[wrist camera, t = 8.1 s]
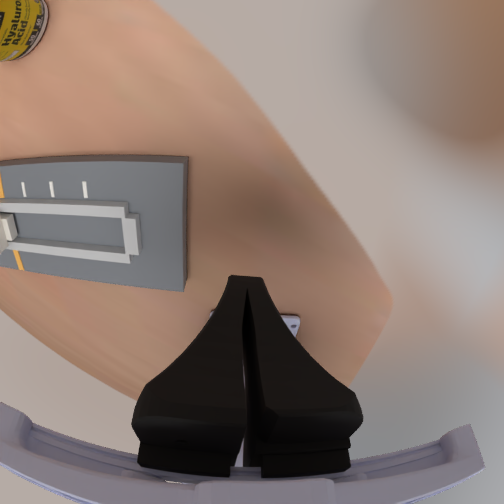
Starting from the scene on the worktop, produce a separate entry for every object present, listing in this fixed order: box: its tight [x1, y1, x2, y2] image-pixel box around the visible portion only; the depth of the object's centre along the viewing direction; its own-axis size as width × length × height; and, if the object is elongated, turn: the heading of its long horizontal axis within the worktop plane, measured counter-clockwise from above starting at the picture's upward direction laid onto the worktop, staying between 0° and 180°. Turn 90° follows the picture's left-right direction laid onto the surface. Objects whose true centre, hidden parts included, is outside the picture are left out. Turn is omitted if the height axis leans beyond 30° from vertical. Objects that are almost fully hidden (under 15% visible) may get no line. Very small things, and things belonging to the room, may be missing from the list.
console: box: [0, 155, 188, 292], centre depth 19 cm, size 10×22×2 cm, turn 83°
